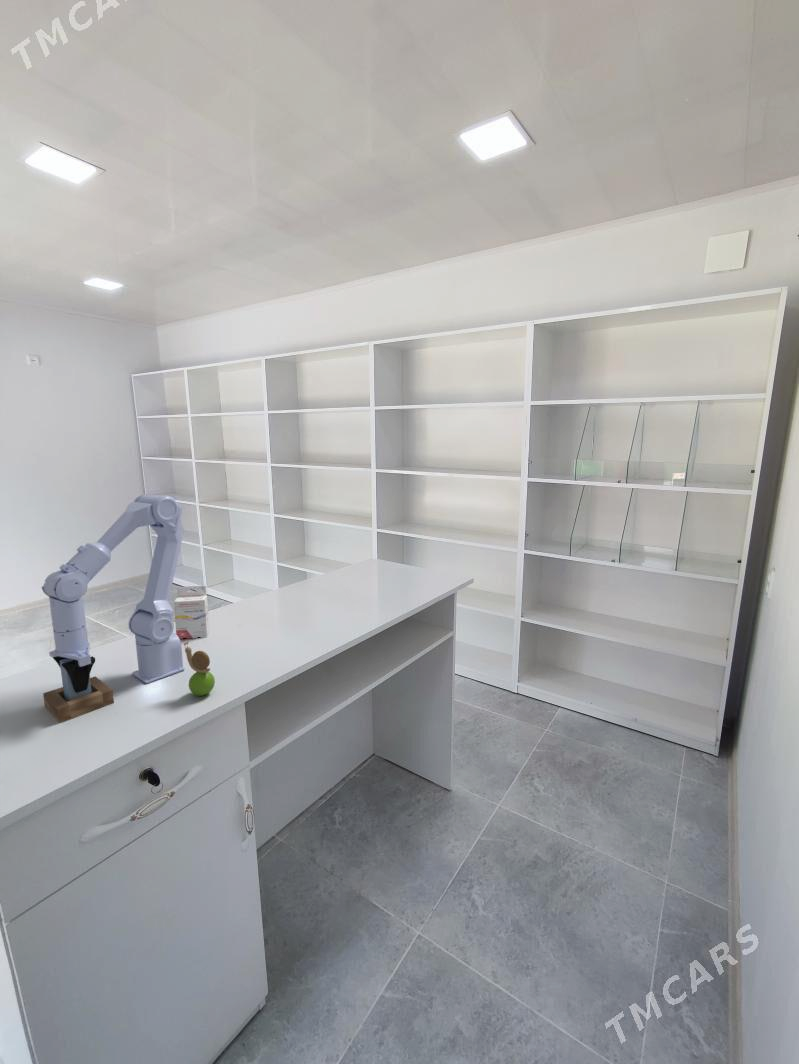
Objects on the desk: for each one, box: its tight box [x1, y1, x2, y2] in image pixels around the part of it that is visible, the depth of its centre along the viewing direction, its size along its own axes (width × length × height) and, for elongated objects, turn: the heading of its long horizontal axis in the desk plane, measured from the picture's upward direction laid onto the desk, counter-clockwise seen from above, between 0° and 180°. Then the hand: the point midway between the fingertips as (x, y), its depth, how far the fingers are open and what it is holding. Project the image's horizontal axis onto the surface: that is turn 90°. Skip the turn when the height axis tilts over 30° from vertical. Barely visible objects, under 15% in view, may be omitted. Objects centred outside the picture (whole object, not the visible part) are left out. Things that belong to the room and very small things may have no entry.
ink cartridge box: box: [173, 585, 210, 640], centre depth 139 cm, size 9×5×15 cm, turn 104°
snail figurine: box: [183, 641, 216, 697], centre depth 106 cm, size 5×6×12 cm
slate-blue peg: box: [59, 658, 92, 702], centre depth 101 cm, size 4×4×9 cm
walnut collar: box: [42, 676, 115, 724], centre depth 102 cm, size 10×10×3 cm
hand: (77, 687), depth 102 cm, fingers closed on slate-blue peg, 4 cm apart
